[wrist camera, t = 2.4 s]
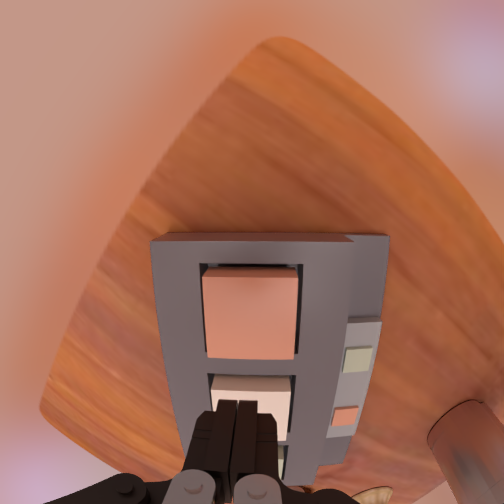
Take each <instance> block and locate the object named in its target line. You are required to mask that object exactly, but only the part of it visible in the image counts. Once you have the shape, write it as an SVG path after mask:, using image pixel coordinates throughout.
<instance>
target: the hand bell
mask: <svg viewBox="0 0 504 504" xmlns="http://www.w3.org/2000/svg"><path fill="white" fill-rule="evenodd" d="M392 492H393V490H392V488H390V487H379V488H373V489H370V490H367V491H364V492H361V493H359V494H357V495H355V496H353V497H352V498H353V499H354V500H356V501H357V502H359V503H360V504H388V500H389V498H390V497H391V495H392Z"/></svg>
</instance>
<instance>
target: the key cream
mask: <svg viewBox="0 0 504 504" xmlns="http://www.w3.org/2000/svg"><path fill="white" fill-rule="evenodd" d="M211 396H212V405H213V411H216V408H217V403H218V400H219V399H227V400H238V403H239V400H258V413H271V414H272V415H273V417H274V418H275V420H276V422H277V435H278V441H286V435H287V426H288V417H289V407H290V396H291V388H290V379H289V375H235V374H215V376H214V379H213V383H212V387H211Z"/></svg>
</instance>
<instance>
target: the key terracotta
mask: <svg viewBox="0 0 504 504" xmlns="http://www.w3.org/2000/svg"><path fill="white" fill-rule="evenodd" d="M202 284H203V301H204V316H205V330H206V343H207V355H208V358H226V359H261V360H288V359H294V346H295V331H296V314H297V295H298V276H297V273H296V270H295V267H210V266H209V268H208V269H207V271H206V272H205V273H204V275H203V276H202Z"/></svg>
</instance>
